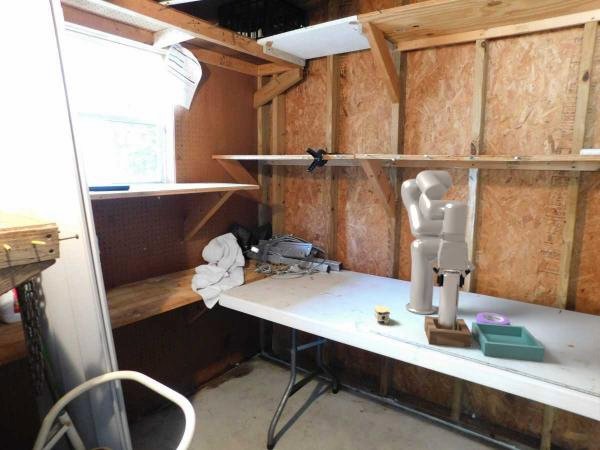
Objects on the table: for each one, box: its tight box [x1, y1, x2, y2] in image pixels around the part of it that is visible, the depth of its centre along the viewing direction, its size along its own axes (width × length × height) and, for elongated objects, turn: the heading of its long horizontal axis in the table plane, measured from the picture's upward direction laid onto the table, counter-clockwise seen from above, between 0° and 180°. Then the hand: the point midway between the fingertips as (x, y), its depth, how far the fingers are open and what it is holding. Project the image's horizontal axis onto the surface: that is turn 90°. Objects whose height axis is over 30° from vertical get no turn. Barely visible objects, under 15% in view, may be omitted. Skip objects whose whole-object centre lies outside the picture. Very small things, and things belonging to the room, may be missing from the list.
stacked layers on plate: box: [373, 305, 391, 324], centre depth 158 cm, size 10×9×6 cm
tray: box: [470, 321, 546, 362], centre depth 137 cm, size 18×18×4 cm
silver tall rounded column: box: [437, 269, 461, 330], centre depth 142 cm, size 6×6×25 cm
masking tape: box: [476, 312, 511, 325], centre depth 155 cm, size 12×12×4 cm
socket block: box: [423, 315, 473, 349], centre depth 144 cm, size 14×14×5 cm
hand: (450, 285), depth 141 cm, fingers closed on silver tall rounded column, 6 cm apart
